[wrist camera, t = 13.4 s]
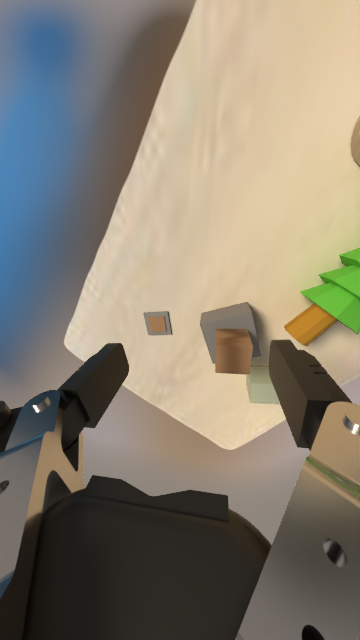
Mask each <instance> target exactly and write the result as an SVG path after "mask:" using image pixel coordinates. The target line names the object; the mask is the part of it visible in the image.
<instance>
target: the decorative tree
mask: <svg viewBox="0 0 360 640" xmlns="http://www.w3.org/2000/svg"><path fill="white" fill-rule="evenodd" d="M339 256H340V258H341V261H342V263H343V264H344V265H346V266H347V267H344V268H340V269H337V270H333V271H330V272H326V273H323V274H319V276H320V277H321V279H322V280H323V281H324V282H325V283H327V284H324V285H320V286H317V287H314V288H311V289H308V290H305V291H302V292H300V293H302V294H303V295H304V296H305V297H307V298H308V299H309V300H311V301H312V302H314V304H313V305H312V306H310V307H309V308H308V309H306V310H305V311H304V312H302V313H301V314H300V315H298V316H297V317H296V318H294V319H293V320H292V321H290V322H289V323H288V324H286V325H285V326H284V328H285V330H286V331H287V332H288V333H289V334H290V335H291V336H293V337H294V338H295V339H296V340H297V341H298V342H300V343H301V344H302V345H304V346H307V345H309V344H310V343H311V342H312V341H313V340H315V339H316V338H317V337H318V336H319V335H321V334H322V333H323V332H324V331H325V330H327V329H328V328H329V327H330V326H331V325H332V324H334V323H335V322H336V321H337V320H338V321H340V322H341V323H343V324H344V325H345V326H347V327H348V328H350V329H351V330H353V331H354V332H355V333H357V334H358V332H359V330H360V248H358V249H355V250H352V251H350V252H347V253H344V254H341V255H339Z"/></svg>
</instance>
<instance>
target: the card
mask: <svg viewBox="0 0 360 640" xmlns="http://www.w3.org/2000/svg"><path fill="white" fill-rule="evenodd" d="M144 318H145V322H146V326H147V331H148V335H167V334H172V333H171V327H170V321H169V315H168V311H165V312H148V313H144Z"/></svg>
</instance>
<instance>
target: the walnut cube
mask: <svg viewBox="0 0 360 640" xmlns="http://www.w3.org/2000/svg"><path fill="white" fill-rule="evenodd" d="M252 352H253V344H252V341H251V338H250V336H249V333H248V330H247V329H216V335H215V371H216V373H231V374H248V375H250V370H251V361H252Z"/></svg>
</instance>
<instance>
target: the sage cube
mask: <svg viewBox="0 0 360 640" xmlns="http://www.w3.org/2000/svg"><path fill="white" fill-rule="evenodd" d="M246 385H247V389H248V394H249V399H250V403H264V404H278V402H279V399H278V397H277V394H276V391H275V389H274V386H273V384H272V381H271V379H270V375H269V366H251V370H250V375H248V374H247V379H246Z"/></svg>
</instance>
